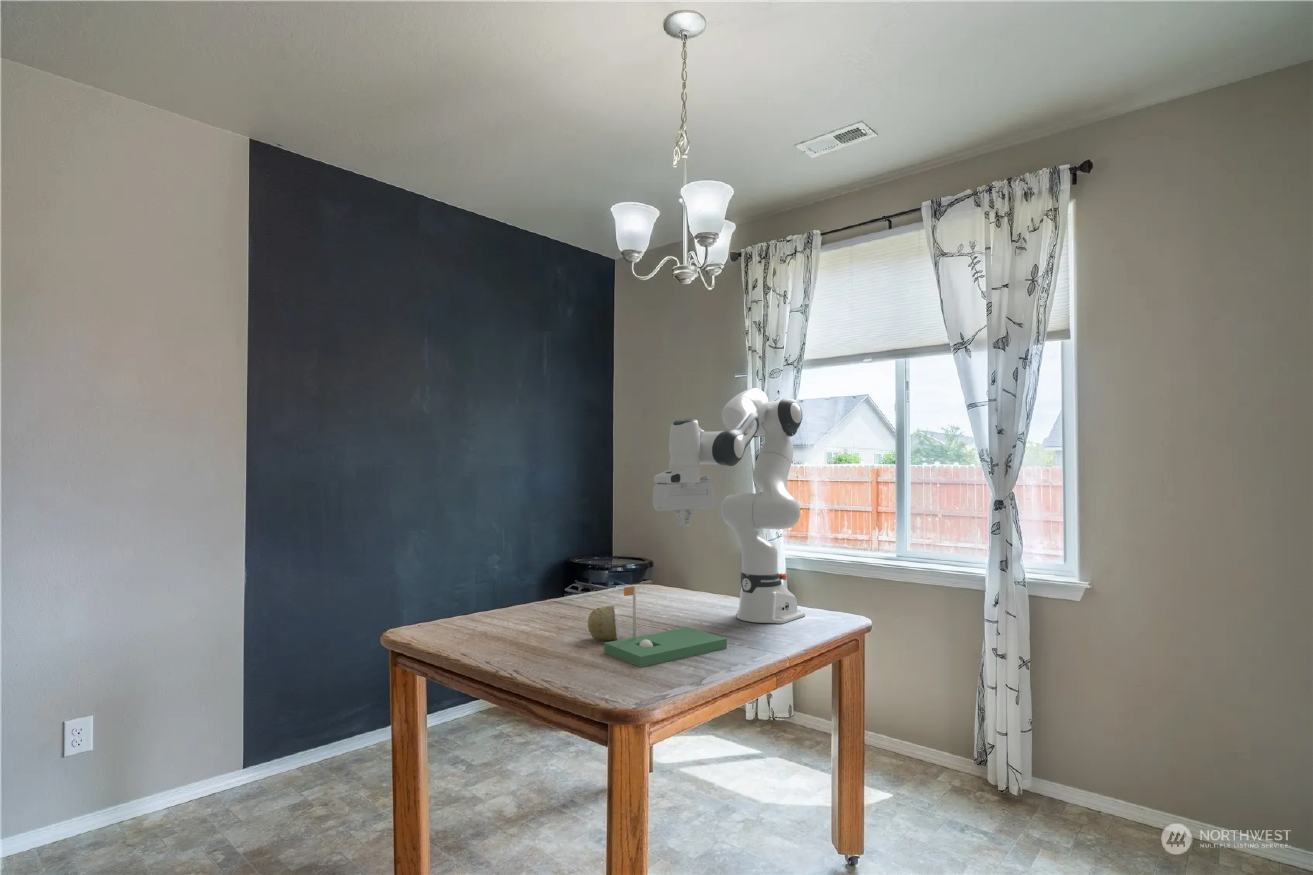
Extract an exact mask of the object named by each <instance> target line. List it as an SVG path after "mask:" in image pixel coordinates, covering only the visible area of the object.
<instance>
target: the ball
mask: <svg viewBox="0 0 1313 875" xmlns="http://www.w3.org/2000/svg"><path fill="white" fill-rule="evenodd" d="M639 646H642V647H644V648H649V647H653V644H652V642H651V641H650V640H642V641H641V642H640V644H639Z"/></svg>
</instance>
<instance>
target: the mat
mask: <svg viewBox="0 0 1313 875" xmlns="http://www.w3.org/2000/svg"><path fill="white" fill-rule="evenodd" d="M627 596H629V597H630V596H632V637H629V638H623V639H618V640H610V641H607V642H604V643H603V644H604V653H605V654H608V655H609V656H612V657H614V658H617V659H619V660H622V661H624V662H627V663H629V664H632V665H634V666H636V667H639V668H645V667H649V666H654V665H659V664H663V663H666V662H667V663H669V662H670V661H676V660H681V659H685V658H688V657H694V656H699V655H703V654H707V653H711V652H716V651H720V650H725V649H727V648H728V638H726V637H723V636H719V635H715V634H714V633H713V634H712V633H710V632H705V631H703V630H699V629H697V628H692V627H689V626H686V627H681V628H675V629H671V630H663V631H659V632H654V633H650V634H648V633H647V634H643V635H639V636H637V635H636V634H637V586H636V585H631V586H625V587H623V597H627ZM642 640H650V641H651V642H652V644H653V647H649V648H644V647H642V646H639V644H640V642H641V641H642Z"/></svg>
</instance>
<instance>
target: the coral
mask: <svg viewBox="0 0 1313 875" xmlns="http://www.w3.org/2000/svg"><path fill="white" fill-rule="evenodd" d="M587 628H588V632H589V634H590V635H591V637H592V639H594V641H598V642H604V641H616V640H619V629H618V628H619V627H618V622H617V617H616V613H615V605H607V606H603V607H597V608H595V609H593V610H592V611H591V612H590V615H589V616H588V619H587Z"/></svg>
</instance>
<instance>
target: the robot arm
mask: <svg viewBox="0 0 1313 875" xmlns="http://www.w3.org/2000/svg"><path fill="white" fill-rule="evenodd" d="M721 419H722V423H723V425H724V426H725V428H726V429H727V430H720V431H719V430H718V431H705V430H704V429H702V428H701V427H700V426H699V421H698V419H695V418H685V419H684V418H683V419H678V420H675V421H673V422H672V423H671V426H670V430H669V437H668V438H669V439H668V453H669V454H670V455H669V457H670V460H669V463H668V469H666V470H664V471H662V472H661V473H658V474H656V475H654V477H653V482H654V483H656V484H654V486H653V489H652V507H653V509H654V511H658V512H665V511H675V513H674V514H675V516H676V517H677V519H678V526H679V527H689V526H690V527H691V521H692V518H693V515H694V513H695V510H700V509H701V510H702V509H703V510H704V509H713V508H714V507H715V504H716V501H715V500H716V498H715V491H714V484H713V483H714V482H713V480H712V478H711V477H709V476H708V475H706V476H702V475H701V466H702V465H703V466H704V465H708V466H709V465H712V466H714V465H715V466H719V465H720V466H725V467H733V466H736V465H737V464H738V463H739V462H740V461H741V460H742V458H743V456H744V454H745V452H746V449H747V447H748V445H749V444H750V443H751V441H752V440H753V438H759V437H763V444H762V446H761V448H760V450H759V453H758V456H757V458H756V462H755V465H754V469H753V471H752V479H753V483H754V484H755V486H756V487H757V488H759V489H760V490H762V492H761V493H753V492H752V493H751V492H750V493H749V492H746V493H745V492H739V493H734V494H729V495H727V496H726V497H725V498H724V499H723V500H722V502H721V506H720V514H721V518H722V520H723V522H724V523H725V524H726V525H727V526H729V527H730V528H731V529H732V531H733V533H734V534H735V536H736V538H737V540H738V542H739V546H740V552H741V572H740V585H741V589H740V595H739V603H738V604H739V605H738V609H737V612H736V613H737V614H736V619H739V620H741V621H743V622H749V623H759V624H760V623H761V624H762V623H763V624H785V623H787V622H790V621H793V620H798V619H800V618H803V617H806V613H805V611H802V610H799V609H798V602H797V598H796V596H795V595H794V594H793V593H792V592H790V590H789V589H787V588H786V587H785V586H784V585H783V583H782V580H783V581H786V580H787V579H788V575H787V574H786V573H782V572H781V573H779V572H778V550H777V547H776V545H775V544H773V542H771V541H769V540H768V539H766V538H765V537H764V534H763V533H762V529H764V530H786V529H791V528H793V527H795V526H796V525H797V523H798V522H799V519H800V516H801V509H800V505H799V503H798V500H796V499H795V497H793V496H792V495H791V493H790V492H789V491H788V487H787V486H788V485H787V482H788V479H789V478H788V477H789V473H790V470H791V465H792V461H793V454H794V443H793V442H794V441H793V439H792V438H791V437H793V436H795V435H796V434H797V432H798V429H799V428H800V426H801V423H802V421H803V411H802V408H801V405H800V404H799V403H798V402H797V401H796V400H795V399H792V398H783V399H779V400H771V401H769V399H768V396H767V395H766V393H765V392H764V391H763V390H761V389H759V388H747V389H746V390H744V391H742V392H740V393H738V394H736V395H734V397H732V398H731V399H730V400H729V401H728V402H726V404H725V405H724V407H723V408H722V411H721ZM684 513H686V514H685V516H684ZM684 517H685V518H684Z"/></svg>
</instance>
